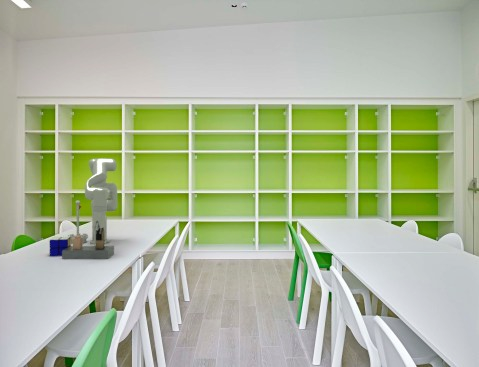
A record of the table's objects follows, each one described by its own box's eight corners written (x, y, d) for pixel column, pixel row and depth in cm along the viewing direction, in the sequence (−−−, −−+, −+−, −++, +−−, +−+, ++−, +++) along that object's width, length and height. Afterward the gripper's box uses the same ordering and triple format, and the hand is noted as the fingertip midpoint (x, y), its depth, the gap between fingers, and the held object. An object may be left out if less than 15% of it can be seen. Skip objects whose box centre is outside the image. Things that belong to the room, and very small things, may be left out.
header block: (70, 254, 216) (70, 245, 215) (114, 254, 217) (114, 246, 217) (62, 258, 204) (62, 250, 203) (108, 258, 205) (108, 250, 205)
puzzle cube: (49, 256, 209) (49, 239, 209) (53, 252, 219) (53, 236, 218) (67, 255, 212) (67, 239, 211) (71, 252, 221) (71, 236, 221)
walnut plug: (97, 247, 213) (97, 228, 212) (104, 247, 213) (104, 228, 212) (95, 248, 209) (95, 229, 208) (102, 248, 209) (102, 229, 208)
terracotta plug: (75, 253, 212) (75, 235, 211) (82, 253, 212) (82, 235, 212) (72, 255, 208) (72, 236, 207) (79, 255, 208) (79, 236, 208)
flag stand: (82, 244, 243) (82, 201, 242) (64, 244, 243) (63, 201, 242) (91, 240, 256) (91, 199, 255) (73, 240, 256) (73, 199, 255)
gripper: (98, 207, 218) (98, 236, 219) (88, 210, 201) (88, 242, 202) (110, 207, 218) (110, 236, 219) (102, 210, 202) (102, 242, 202)
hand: (100, 239), depth 211 cm, fingers closed on walnut plug, 4 cm apart
